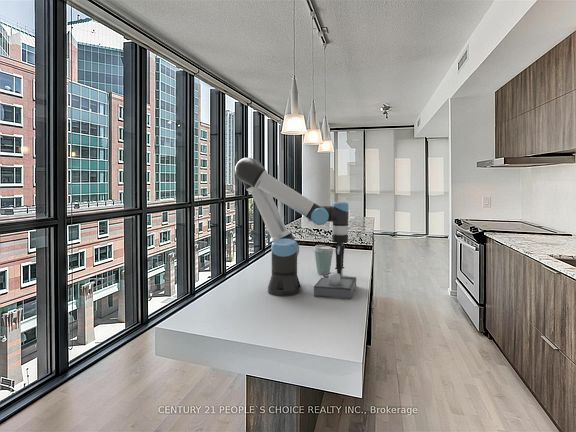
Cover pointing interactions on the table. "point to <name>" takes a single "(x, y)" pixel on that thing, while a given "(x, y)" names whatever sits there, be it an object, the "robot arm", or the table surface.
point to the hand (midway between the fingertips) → (339, 282)
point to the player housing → (334, 287)
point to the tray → (343, 278)
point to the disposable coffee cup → (323, 258)
